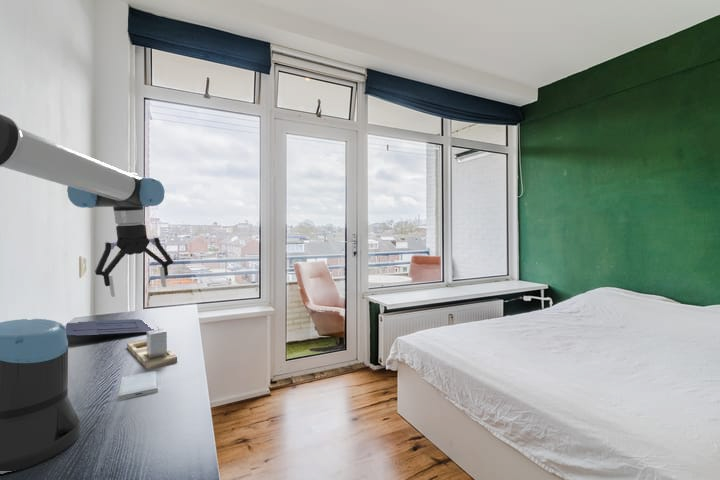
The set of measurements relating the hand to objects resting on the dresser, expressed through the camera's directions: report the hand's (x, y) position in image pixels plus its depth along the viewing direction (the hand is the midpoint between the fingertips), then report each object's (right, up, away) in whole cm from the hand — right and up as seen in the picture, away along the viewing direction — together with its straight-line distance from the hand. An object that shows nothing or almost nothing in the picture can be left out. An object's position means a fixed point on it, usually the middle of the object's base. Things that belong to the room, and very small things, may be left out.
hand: (139, 290), depth 105 cm
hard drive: (+11, -23, -17) cm, 31 cm away
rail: (+1, -22, +4) cm, 22 cm away
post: (+6, -22, -1) cm, 22 cm away
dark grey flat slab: (-30, -22, +30) cm, 48 cm away
